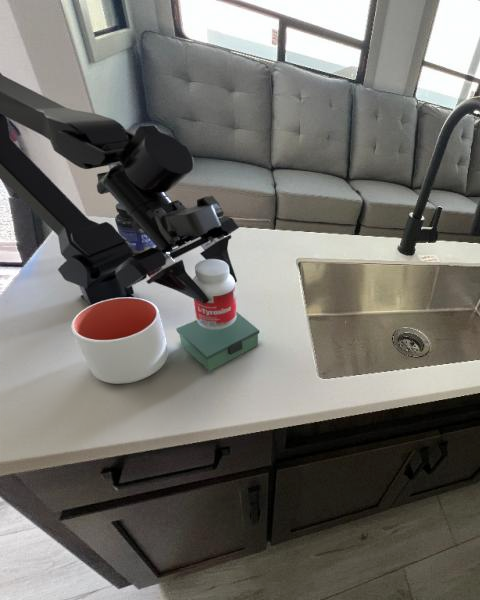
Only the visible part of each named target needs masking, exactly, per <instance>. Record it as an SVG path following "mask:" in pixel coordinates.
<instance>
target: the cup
mask: <svg viewBox="0 0 480 600" xmlns="http://www.w3.org/2000/svg"><path fill="white" fill-rule="evenodd" d="M70 326H71V327H70V328H71V329H70V330H71V331H72V333H73V337H74V338H75V340H76V342H77V344H78V347H79V348H80V351H81V353H82V355H83V357H84V359H85V361H86V363H87V365H88V368H89V370H90V372H91V374H92V375H93V376H94V377H95V378H96V379H98V380H100V381H102V382H105V383H107V384H115V385H119V384H120V385H121V384H122V385H123V384H130V383H135V382H139V381H142V380H144V379H147V378H148V377H150V376H152V375H154V374H155V373H157V372H158V371H159V370H160V369H161V368H162V367H163V366H164V364H166V361H167V360H168V356H169V347H168V342H167V339H166V335H165V330H164V327H163V323H162V319H161V315H160V311H159V308H158V307H157V305H156V304H154V303H153V302H151V301H149V300H147V299H143V298H140V297H135V298H131V297H124V298H114V299H109V300H105V301H101V302H98V303H96V304H93V305H91V306H87V307H85V308H84V309H82V310H81V311H80V312H78V313H77V314H76V316H74V318H73V320H72V322H71V325H70Z"/></svg>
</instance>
